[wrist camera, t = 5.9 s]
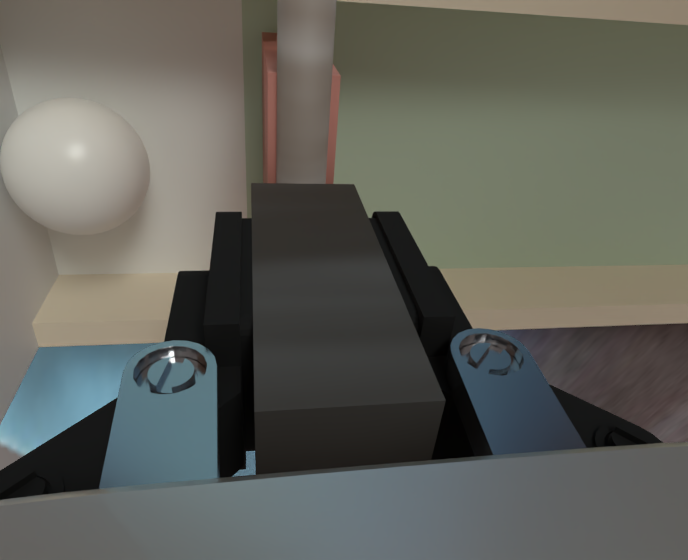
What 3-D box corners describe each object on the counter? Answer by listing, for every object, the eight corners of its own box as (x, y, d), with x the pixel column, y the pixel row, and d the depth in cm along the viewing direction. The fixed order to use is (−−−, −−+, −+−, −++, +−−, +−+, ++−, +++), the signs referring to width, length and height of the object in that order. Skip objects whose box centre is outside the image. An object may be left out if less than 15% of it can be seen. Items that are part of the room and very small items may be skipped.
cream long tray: (-55, -81, 15) (-304, -92, 8) (890, -2, 20) (1208, 32, 13) (44, 283, 21) (-49, 443, 14) (738, 269, 26) (903, 382, 20)
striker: (244, -146, 14) (234, -441, 3) (336, -136, 14) (633, -357, 3) (254, 336, 22) (261, 723, 11) (311, 335, 23) (370, 705, 12)
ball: (163, 110, 15) (114, 78, 17) (-2, 129, 12) (-31, 89, 15) (177, 238, 17) (131, 193, 19) (37, 273, 15) (6, 217, 17)
